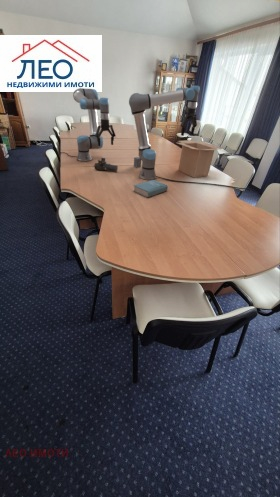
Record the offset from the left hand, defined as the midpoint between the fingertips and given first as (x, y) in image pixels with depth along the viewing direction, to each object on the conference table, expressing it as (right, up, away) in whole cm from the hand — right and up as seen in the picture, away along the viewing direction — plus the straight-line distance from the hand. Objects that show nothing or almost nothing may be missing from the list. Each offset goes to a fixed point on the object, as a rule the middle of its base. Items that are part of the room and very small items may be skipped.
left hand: (105, 145), depth 205 cm
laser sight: (-1, -21, +9) cm, 22 cm away
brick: (+29, -11, +25) cm, 40 cm away
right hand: (+75, +8, -2) cm, 76 cm away
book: (+40, -50, -27) cm, 70 cm away
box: (+86, -19, +20) cm, 90 cm away
